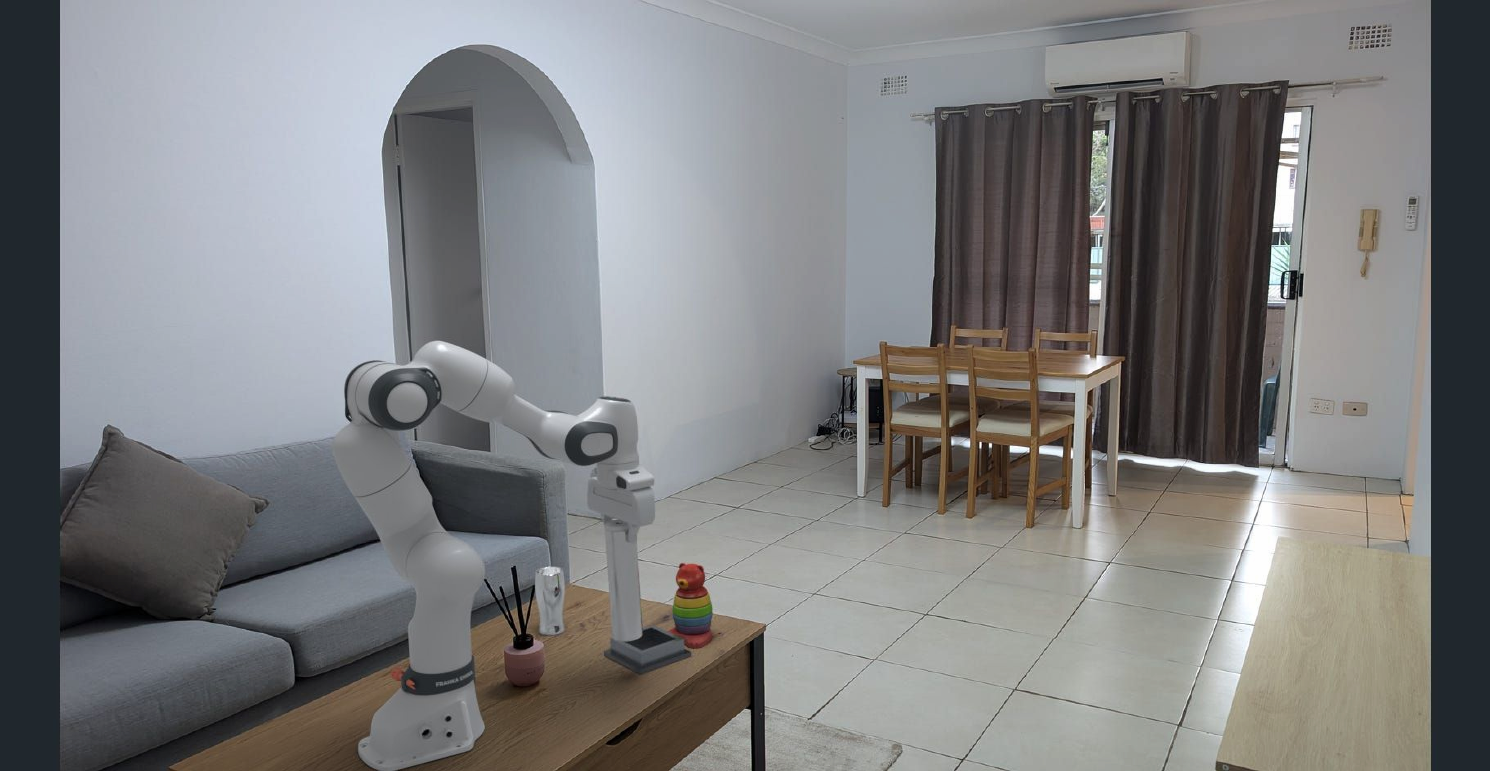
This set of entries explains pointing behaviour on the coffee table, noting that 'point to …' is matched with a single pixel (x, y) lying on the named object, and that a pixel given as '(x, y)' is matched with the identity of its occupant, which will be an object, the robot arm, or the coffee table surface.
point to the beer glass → (550, 599)
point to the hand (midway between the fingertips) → (621, 538)
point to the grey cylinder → (623, 582)
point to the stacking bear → (692, 607)
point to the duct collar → (648, 650)
